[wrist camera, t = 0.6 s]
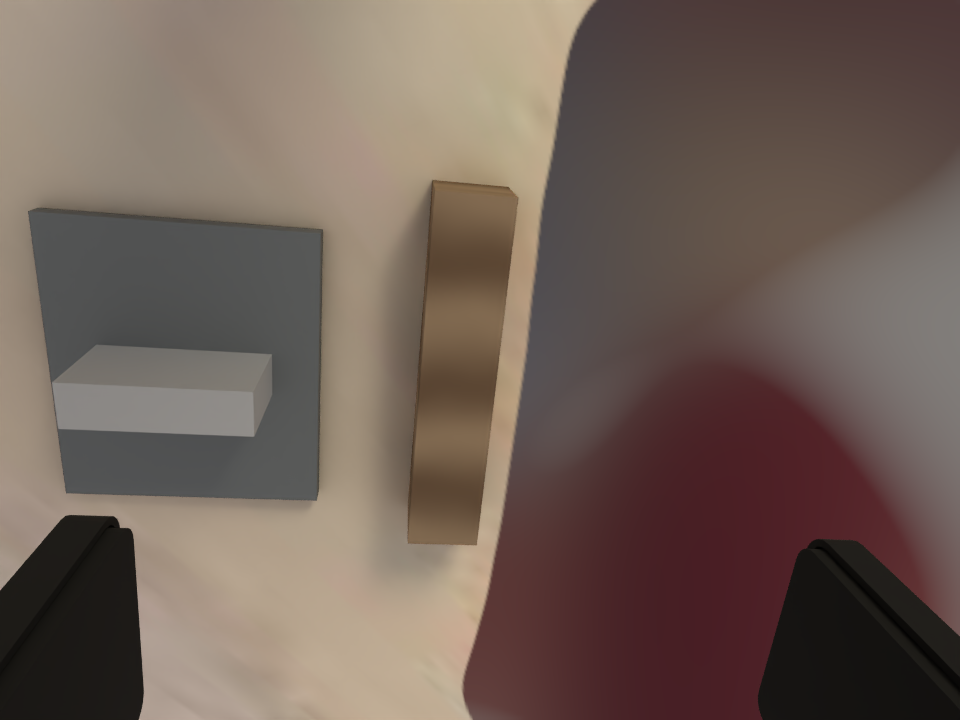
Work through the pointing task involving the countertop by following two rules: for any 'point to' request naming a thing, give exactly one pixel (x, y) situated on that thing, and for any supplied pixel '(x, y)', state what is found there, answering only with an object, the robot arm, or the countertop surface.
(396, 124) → the countertop surface
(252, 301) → the slate board
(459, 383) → the walnut bar
